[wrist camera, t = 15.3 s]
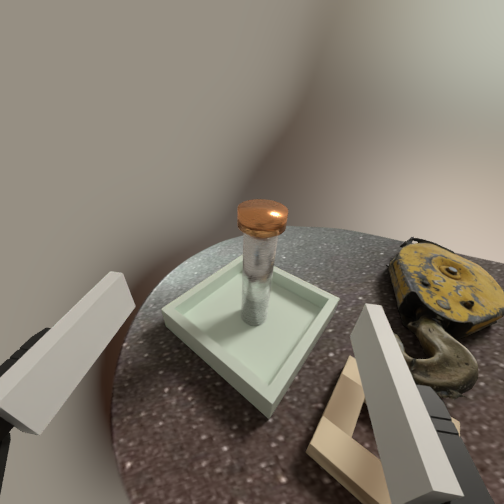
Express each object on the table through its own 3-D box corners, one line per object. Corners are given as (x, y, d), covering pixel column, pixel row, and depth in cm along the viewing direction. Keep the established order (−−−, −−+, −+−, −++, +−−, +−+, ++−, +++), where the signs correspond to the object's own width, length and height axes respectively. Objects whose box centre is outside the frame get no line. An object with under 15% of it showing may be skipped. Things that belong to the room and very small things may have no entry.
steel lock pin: (278, 313, 28) (297, 208, 20) (257, 337, 25) (269, 225, 17) (251, 296, 30) (257, 195, 22) (228, 316, 27) (226, 208, 19)
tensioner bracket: (446, 431, 20) (459, 422, 18) (440, 574, 14) (459, 573, 12) (344, 366, 24) (349, 355, 23) (305, 452, 18) (310, 443, 17)
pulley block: (353, 316, 21) (417, 220, 40) (329, 345, 25) (398, 245, 44) (545, 452, 15) (514, 264, 34) (476, 465, 19) (482, 288, 38)
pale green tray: (333, 314, 30) (339, 298, 28) (269, 419, 20) (272, 404, 18) (245, 267, 37) (245, 252, 35) (165, 326, 27) (161, 309, 25)
